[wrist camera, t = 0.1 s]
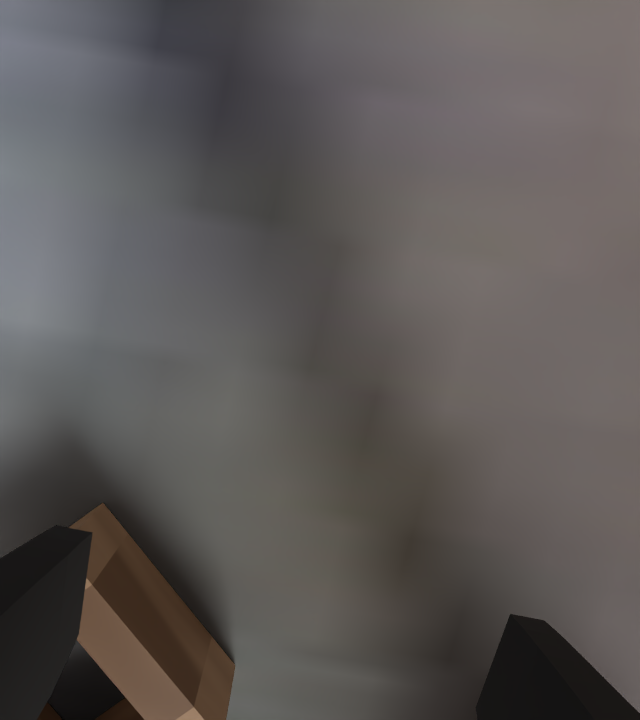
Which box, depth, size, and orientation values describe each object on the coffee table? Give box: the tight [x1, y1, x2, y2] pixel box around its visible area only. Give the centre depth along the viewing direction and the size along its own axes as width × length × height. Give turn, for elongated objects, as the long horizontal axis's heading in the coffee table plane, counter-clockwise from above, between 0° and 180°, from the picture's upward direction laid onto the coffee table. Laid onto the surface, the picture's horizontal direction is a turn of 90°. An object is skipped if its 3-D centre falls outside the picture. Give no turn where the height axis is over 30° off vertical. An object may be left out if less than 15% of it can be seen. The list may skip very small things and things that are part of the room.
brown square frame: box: [37, 503, 235, 720], centre depth 19 cm, size 8×8×4 cm
